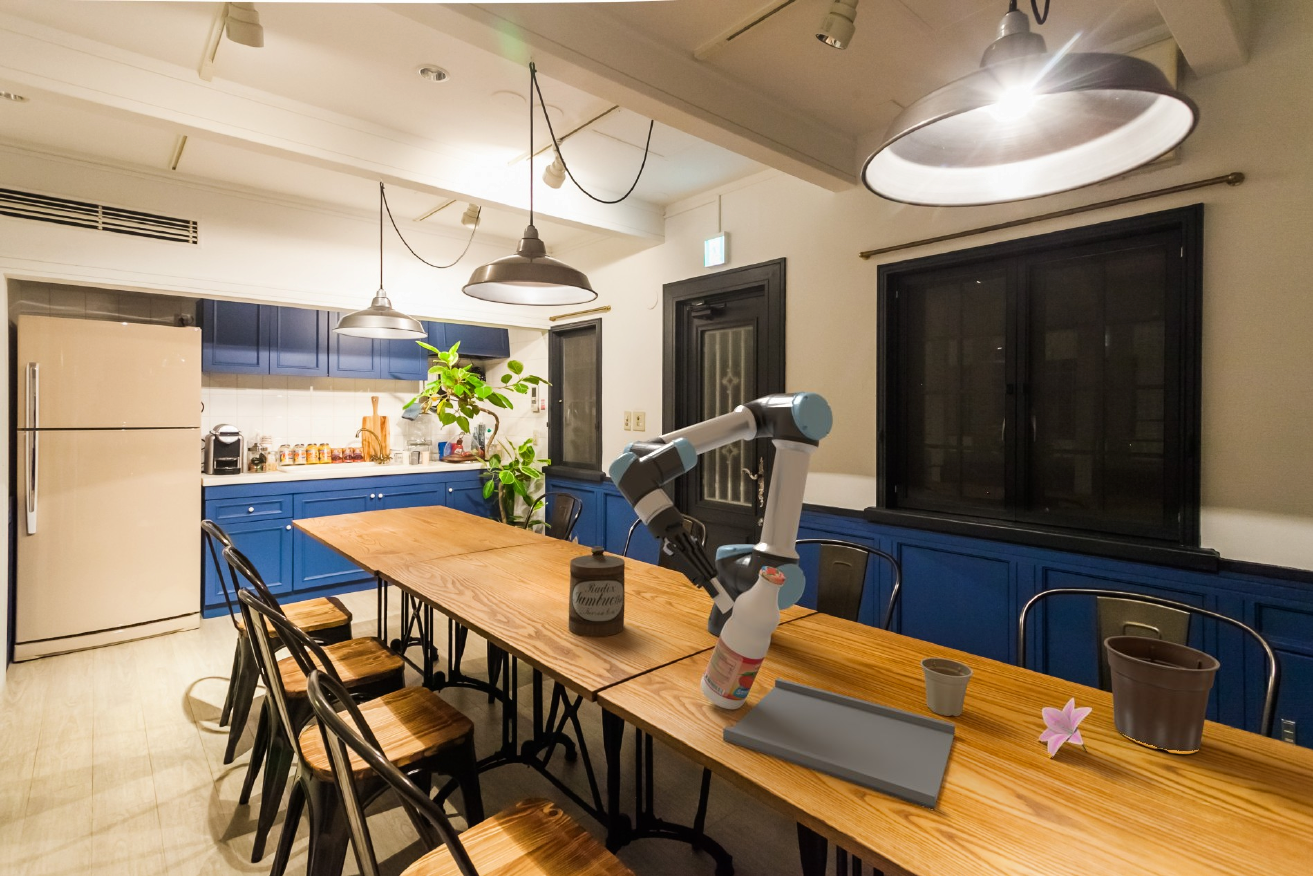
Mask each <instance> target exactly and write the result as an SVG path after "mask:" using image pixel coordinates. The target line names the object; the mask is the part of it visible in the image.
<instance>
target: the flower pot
mask: <svg viewBox="0 0 1313 876" xmlns="http://www.w3.org/2000/svg"><path fill="white" fill-rule="evenodd" d="M920 666H921V668H922V672H923V675H924V685H925V695H926V696H925V697H926V706H927V708H929V709H930V711H932V712H933V713H936V714H938V715H940V716H941V715H942V716H944V717H949V716H954V717H959V716H960V715H962V713H963V707H964V704H965V703H964V702H965V697H966V693H967V687H968V684H969V682H970V681H971V677H973V675H974V671H973V669H972V668H971V667H969V665H966V664H965V663H962V662H959V661H956V660H953V659H949V658H948V659H947V658H941V657H940V658H939V657H927V658H923V659H921V661H920Z"/></svg>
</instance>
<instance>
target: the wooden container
mask: <svg viewBox="0 0 1313 876" xmlns="http://www.w3.org/2000/svg"><path fill="white" fill-rule="evenodd" d="M590 552H591V554H588V555H582V556H577V557H574V558H572V559H571V560H570V561H569V563H570V565H569V566H570V567H569V570H570V571H569V572H570V577H569V596H568V597H569V599H568V629H569V631H570V632H572V633H573V634H576V635H579V636H583V637H588V638H589V637H591V638H592V637H593V638H595V637H596V638H598V637H599V638H600V637H608V636H612V635H613V636H614V635H617V634H619V633H620V632H622V631H623V629H624V627H625V626H624V625H625V606H626V605H625V602H626V601H625V595H626V593H625V592H626V591H625V583H626V580H625V578H626V577H625V575H626V574H625V569H626V568H625V567H626V566H625V565H626V564H625V563H626V561H625V560H624V558H622V557H619V556H614V555H609V554H608V555H607V554H604V552H605V548H604V547H603V546H601V545H594V546H593V547H592V548H591V550H590Z"/></svg>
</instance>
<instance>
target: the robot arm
mask: <svg viewBox="0 0 1313 876" xmlns="http://www.w3.org/2000/svg"><path fill="white" fill-rule="evenodd" d="M733 409H734V410H733V411H732V412H728V413H726V414H722V415H719V416H716V417H713V418H711V419H708V420H705V421H702V422H698V423H696V424H692V425H690V426H687V427H683V428H681V429H677V430H673V431H672V432H669V433H666V434H665V433H664V434H663V435H659V436H657V437H654V438H650V439H648V440H645V441H642V440H641V441H640V440H637V441H633V442H631V443H628V444H627V445H626V446H625V447H624V450H623V452H622V455H619V456H618V457H617V458H616V459H615V460H613V462H612V463H610V466H609V469H608V475H609V477H610V479H611V481H612V482H613V484H614V485H615V486H616V489H618V491H619V492H620V493H621V495H622V496H623V497H624V498H625V500H626V501H627V502H628V504H629V505H630V507H632V510H633V511H634V513H636V515H637V516H638V519H639V520H641V521H642V523H643V525H645V526H646V529H647V530H648V532H650V534H651V536H652V537H653V538H654V540H655V541H661V543H662V544H663V545H664V546H663V548H662V549H660V552H661V554H662V555H663V556H664V557H665V558H667V559H669V560H670V561H671V563H673V565H674V566H675V567H676V568H677V569H678V570H679V571H680V572H681V574H683V575H684V577H686V578H687V580H688V581H689V582H690V583H691V584H692V585H693V586H694V587H696V588H697V589H699V590H700V589H701V588H704V590H705V591H706V592H707V595H708V596H709V597H710V598H711V599H712V601H713V604H712V608H711V611H710V614H709V617H708V619H707V630H708V632H709V633H711V634H712V635H714V636H716V637H719V636H720V634H721V631H722V629H723V627H724V625H725V623H726V621H727V620H728V619H729V618H730V617H731V616H732V612H733V605H734V603H735V601H736V599H737V598H738V596H739V595H741V594H742V593H744V592H746V591H748V590H750V589H751V588H752V587H753V586H754V585H755V584H756V582H757V581H758V579H759V573H760V570H761V568H762V567H764V566H769V567H772V568H775V569H777V570H779V571H780V572H782V573H783V574H784V575H785V582H784V584H783V586H782V587H780V589H779V592H778V607H779V610H780V611H783V610H784V611H785V610H788V609H790V608H791V607H794V604H797V602H799V600H800V598H801V597H802V596H803V593H804V591H805V588H806V587H805V586H806V576H805V575H804V570H802V568H800V566H799V562H800V555H799V554H798V552H797V551H796V548H795V547H796V544H797V543H796V542H797V536H798V531H799V524H800V519H801V513H802V509H803V508H802V507H803V502H804V497H805V496H804V495H805V491H806V490H805V489H806V484H807V478H808V473H809V472H808V471H809V466H810V460H811V455H812V454H813V453H815V452H816V451H818V450H819V445H820V440H822V439H824V438H826V437H827V435H829V434H830V432H831V430H832V429H833V422H834V419H833V418H834V416H833V415H834V414H833V411H832V408H831V406H830V405H829V402H828V401H827V400H826V398H824V397H823V396H822V394H818V393H816V392H805V391H800V392H786V393H784V392H783V393H771V394H767V395H765V396H761V397H759V398H757V399H754V400H752V401H749V402H746V403H744V404H741V405H738V406H736V407H735V408H733ZM768 437H770V438H771V443H772V444H773V445H774V447H775V449H776V451H775V456H774V460H773V466H772V473H771V479H770V484H769V490H768V497H767V500H766V501H767V502H766V508H765V512H764V518H763V524H762V530H761V534H760V541H759V543H757V544H745V543H744V544H737V543H736V544H727V545H722V546H719V547H718V548H717V550H716V554H715V563H714V562H713V560H712V558H711V556H710V555H709V553H708V552H707V549H706V548H705V547H704V545H703V542H702V540H701V537H700V535H698V534H695V535H694V536H693V535H691V534H690V532H689V531H688V530H687V529H686V528H685V527H684V526H683V525H684V524H683V523H684V521H685V517H684V516H683V515H682V514H681V512H680V511H679V509H678V508H677V507H676V506H673V505H674V503H673V501H672V500H671V499H670V498H669V496H668V495H667V494H666V492H665V491H664V490H663V489H662V487H661V486H663V485H665V484H667V483H668V482H670V481H672V480H674V479H676V478H677V477H679V476H681V475H683V474H686V473H687V472H688V471H690V470H691V469H692V468H694V467H695V466H696V465H697V464H698V455H700V454H703V453H706V452H709V451H711V450H712V451H713V450H715V449H717V448H720V447H721V448H722V447H723V446H726V445H729V444H731V443H734V442H737V441H740V440H745V441H752V440H753V439H758V438H768Z"/></svg>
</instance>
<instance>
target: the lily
mask: <svg viewBox="0 0 1313 876" xmlns="http://www.w3.org/2000/svg"><path fill="white" fill-rule="evenodd" d="M1092 710H1093V708H1092V707H1086V706H1085V707H1084V706H1083V707H1078V708H1075V698H1074V697H1072V698H1070V699H1069V701H1068V702H1067V703H1066V704H1065V706H1064V707H1063V708H1062V710H1060V709H1058V708H1055V707H1051V706H1049V707H1048V706H1047V707H1043V708H1042V710H1041V714H1042V715H1041V716H1042V719H1043V722H1044V724H1045V725H1046V727H1047V728H1046V729H1045V730H1044V731H1043V732H1042V733H1041V734H1040V735H1039V737H1038V738H1039V739H1041V742H1047V753H1048V752H1049V753H1050V754H1052V756H1053V757H1054V756H1055V754H1056V753H1057V751H1059V749H1060V747H1061V746H1062V745H1063V743H1065V742H1067V743H1071V744H1076V745H1081V746H1082V748H1083V750H1084V749H1085V750H1087V748H1086V746H1085V745H1084V741H1083V738H1082V735H1081V732H1080V729H1079V728H1078V726H1079V724H1080V723H1081V722H1082V721H1083V720H1084V719H1085V718H1086V717H1087V716H1088V715H1089V714H1090V713H1091V712H1092ZM1085 750H1084V751H1085Z"/></svg>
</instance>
